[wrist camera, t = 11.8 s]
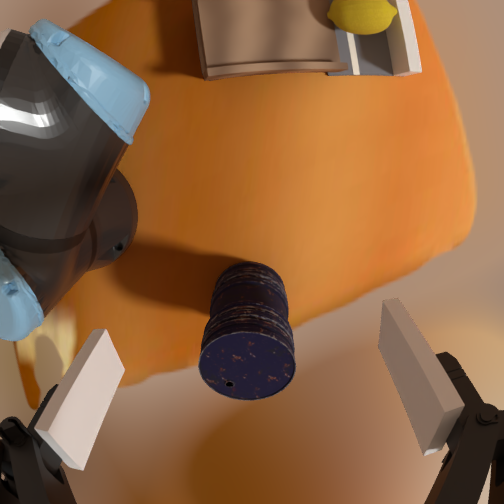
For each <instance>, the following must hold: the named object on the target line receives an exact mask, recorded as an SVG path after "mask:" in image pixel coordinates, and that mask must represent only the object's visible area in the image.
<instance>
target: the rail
mask: <svg viewBox="0 0 504 504" xmlns="http://www.w3.org/2000/svg"><path fill="white" fill-rule="evenodd" d="M387 1H388V2H389V4H390V5H392V6H394V7H395V8H396V9H397V14H396V15H395V16H394V17H393V19H392V22H391V24H390V25H389V27H388V28H386V34H387V39H388V45H389V50H390V56H391V62H392V69H393V76H407V75H412V74H416V73H421V72H422V69H421V62H420V56H419V50H418V45H417V39H416V34H415V29H414V25H413V20H412V16H411V11H410V7H409V3H408V0H387Z"/></svg>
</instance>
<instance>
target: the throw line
mask: <svg viewBox="0 0 504 504" xmlns="http://www.w3.org/2000/svg"><path fill="white" fill-rule="evenodd" d="M346 33H347V38H348V43H349V49H350V55H351V61H352V68H353V74H354V75H360V72H359V65H358V59H357V53H356V47H355V41H354V36H353V33H348V32H346Z"/></svg>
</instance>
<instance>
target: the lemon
mask: <svg viewBox="0 0 504 504" xmlns="http://www.w3.org/2000/svg"><path fill="white" fill-rule="evenodd" d="M396 14H397V9H396V8H395V7H394V6H392V5H390V4H389V2H388V1H387V0H333V2H332V3H331V6H330V10H329V12H328V13H327V17H328V18H329V19H331V20H332V21H333V22H334V24H335V25H336V26H337V27H339V28H340V29H342V30H343V31H346V32H348V33H353V34H361V35H368V34H375V33H379V32H381V31H384V30H385V29H386V28H388V27H389V25H390V24H391V22H392V19H393V17H394V16H395V15H396Z"/></svg>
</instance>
